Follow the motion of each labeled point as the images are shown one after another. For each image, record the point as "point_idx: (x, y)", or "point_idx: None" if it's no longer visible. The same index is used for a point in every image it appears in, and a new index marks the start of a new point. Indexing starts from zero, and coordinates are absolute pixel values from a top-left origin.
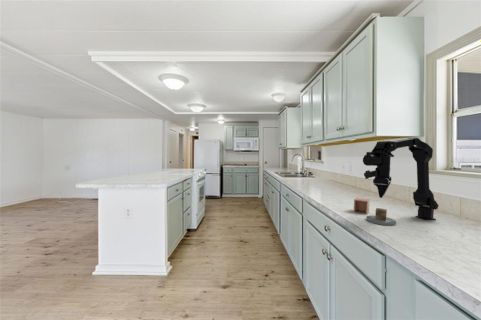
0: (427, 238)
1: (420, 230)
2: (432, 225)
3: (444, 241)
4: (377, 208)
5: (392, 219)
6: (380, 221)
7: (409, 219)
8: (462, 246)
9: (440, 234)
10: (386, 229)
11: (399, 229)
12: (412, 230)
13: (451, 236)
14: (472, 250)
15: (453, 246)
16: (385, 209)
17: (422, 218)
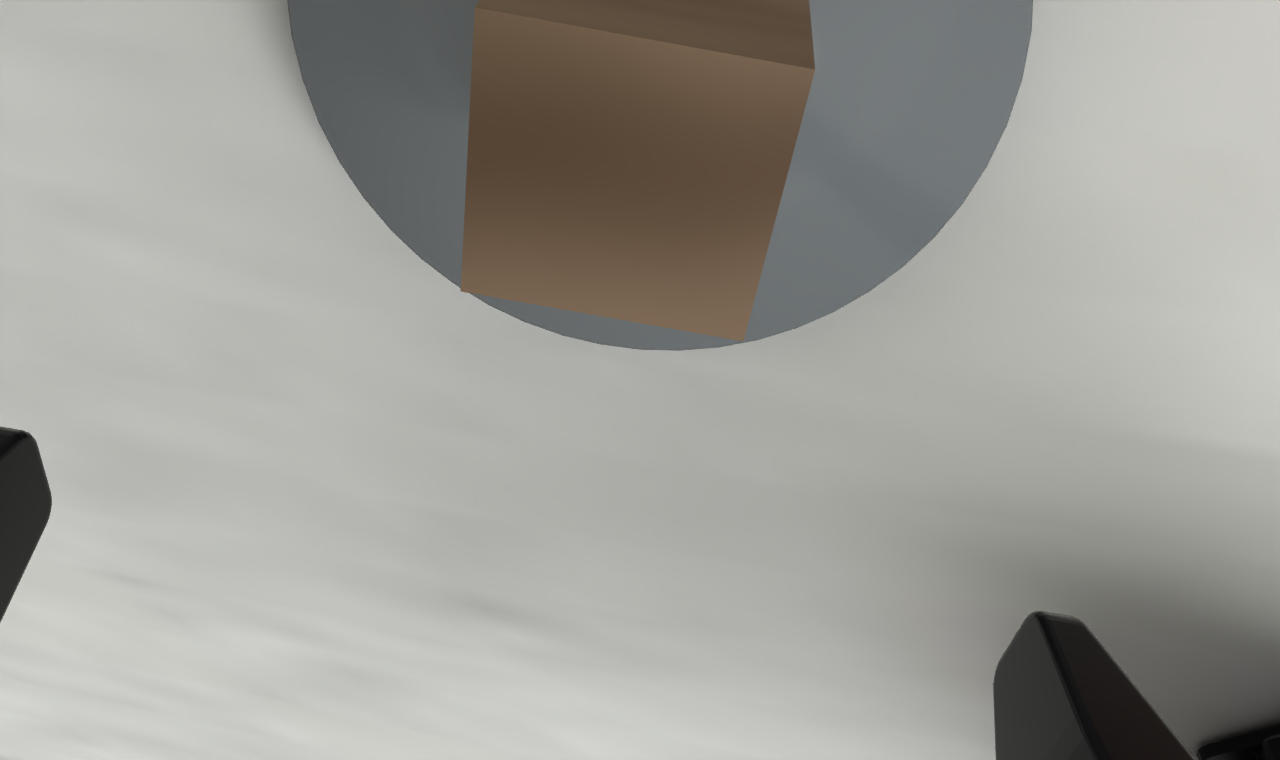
0: (109, 544)
1: (473, 560)
2: (890, 736)
3: (150, 656)
4: (717, 84)
5: (776, 306)
6: (377, 24)
7: (1179, 572)
8: (113, 732)
9: (443, 697)
10: (69, 86)
11: (282, 308)
12: (384, 470)
13: (440, 756)
14: (54, 755)
15: (30, 674)
16: (698, 307)
17: (1261, 739)
